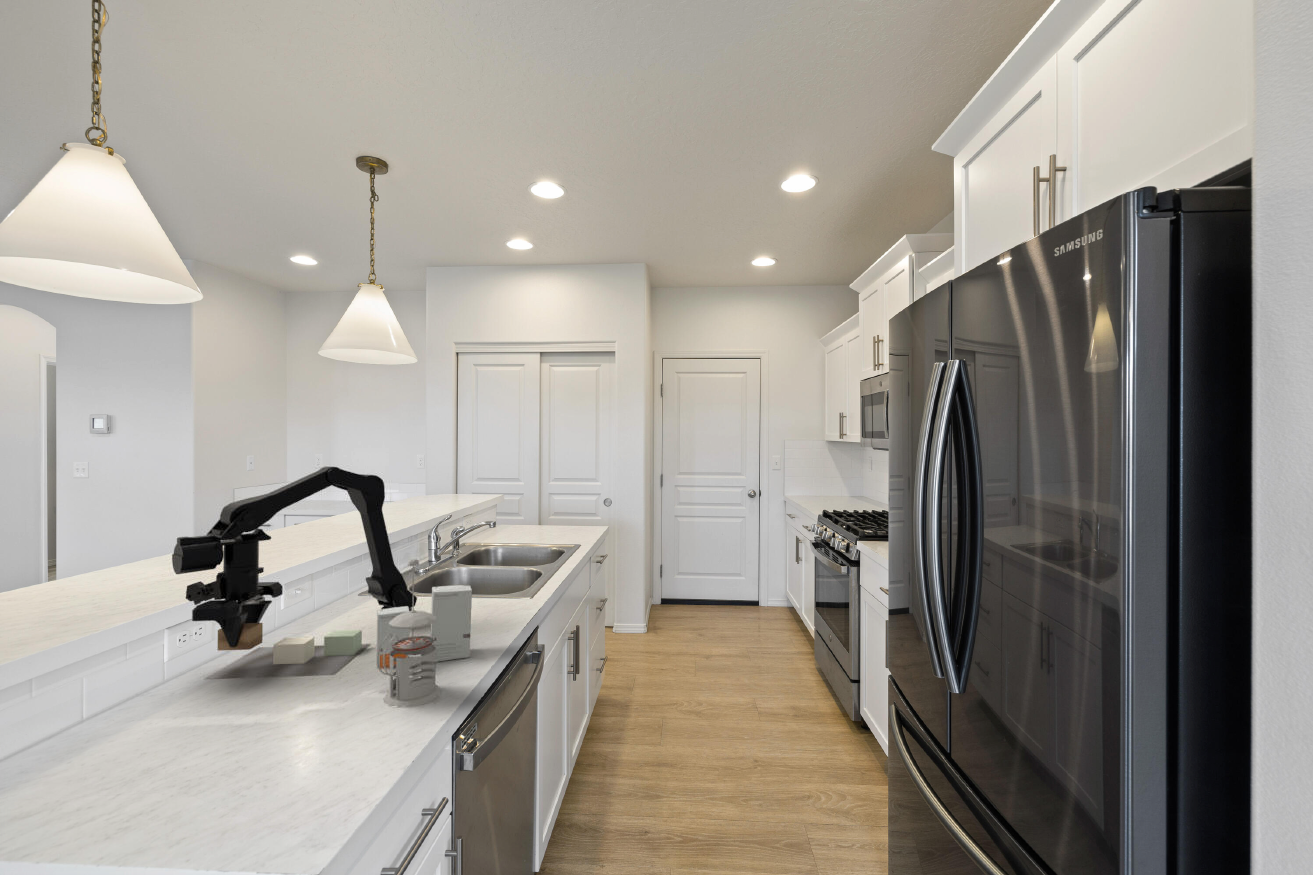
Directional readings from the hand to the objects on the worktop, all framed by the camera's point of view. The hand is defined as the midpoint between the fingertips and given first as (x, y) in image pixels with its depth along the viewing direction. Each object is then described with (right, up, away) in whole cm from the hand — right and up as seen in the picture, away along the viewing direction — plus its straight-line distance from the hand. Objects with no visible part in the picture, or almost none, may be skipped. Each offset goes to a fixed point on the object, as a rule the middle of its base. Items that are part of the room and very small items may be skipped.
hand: (240, 643), depth 112 cm
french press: (+38, -6, -10) cm, 40 cm away
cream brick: (+8, -5, +5) cm, 10 cm away
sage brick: (+15, -5, +9) cm, 19 cm away
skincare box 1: (+29, -7, +3) cm, 30 cm away
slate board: (+8, -7, +5) cm, 11 cm away
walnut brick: (0, -1, 0) cm, 1 cm away
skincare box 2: (+38, -7, +10) cm, 40 cm away
